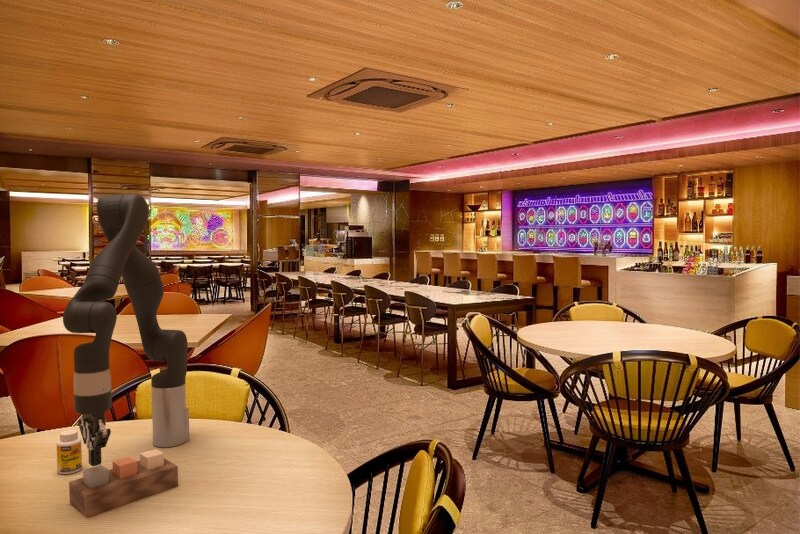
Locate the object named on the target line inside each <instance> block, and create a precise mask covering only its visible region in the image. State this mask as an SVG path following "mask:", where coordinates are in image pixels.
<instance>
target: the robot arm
mask: <svg viewBox="0 0 800 534" xmlns="http://www.w3.org/2000/svg"><path fill="white" fill-rule="evenodd" d="M96 214H97V219H98V221H99V224H100V227H101V230H102V232H103V233H104V235H105V238H106V240H107V244H106V245H105V246H104V247H103V248H102V249H101V250H100V251H99V252H98V253H97V254H96V256H95V257H93V259H92V261H91V263H90V265H89V267H88V271H87V273H86V276H85V279H84V282H83V284H82V285H81V286H80V287H79V288H78V290H77V292H76V293H75V294H74V295H73V297H72V298H71V299H70V301H69V302H68V303H67V305H66V307H65V309H64V311H63V315H62V323H63V326H64V328H65V329H66V330H67V331H68V332H69V333H72V334H95V336H94V338H93V341H89V342H84V343H81V344H78V345H77V346H76V347H75V348H74V349H73V371H74V372H73V383H72V384H73V385H72V386H73V408H74V412H75V414H77V415H81V417H82V419H78V420H77V424H78V427H79V430H80V431H79V432H80V434H81V437H82V441H83V444H84V445H85V446H86V448H87V451H88V464H89V465H90V466H91V467H95V466H99V465H102V449H104V448H106V446H107V444H108V441H109V439H110V437H111V434H112V433H111V432H112V430H111V428H106V426H107V418H106V417H105V415H106V414H105V413H106V412H107V411H109V410H110V409H111V408H112V406H113V399H112V398H113V397H112V376H111V371H110V348H111V342H112V339H113V338H112V337H113V334H114V330H115V327H116V324H117V321H118V320H117V319H118V318H117V317H118V313H117V310H116V308H115V307H114V306H115V305H113V304H112V303H110V302H108V300H111V299H113V297H115V295H116V293H117V291H118V288H119V284H120V281H121V278H122V281H123V284H124V286H125V287H124V288H125V290H126V293H127V296H128V298H129V301H130V304H131V306H132V309H133V313H134V316H135V320H136V323H137V326H138V331H139V336H140V340H141V341H140V342H141V344H142V345H141V346H142V348H143V351H144V352H143V353H144V354H145V356H146V357H147V358H148V359H149V361H153V362H163V363H164V362H166V363H167V367H166V369H165V370H163V371H160V372H157V373H155V374H154V375H152V376H151V382H150V383H151V413H152V415H151V417H152V422H151V423H152V445H154V446H155V447H158V448H170V447H176V446H179V445H182V444H184V443H185V442H187V441H189V440H190V439H191V438H190V409H189V408H188V407H187V396H186V395H187V393H186V376H187V372H188V371H187V370H188V345H189V344H188V338H187V335H186V333H185V332H184V331H183V330H180V329H164V328H162V327H160V325H159V322H158V317H157V313H158V310H159V308H160V306H161V302H162V300H163V297H164V292H165V288H164V284H163V281H162V277H161V274H160V271H159V269H158V267H157V265H156V264H155V263H154V262H153V261H152V260H151V259H150V258H149V257H148V256H147V255H146V254H144V253H143V252H142V251H141V250H140V249H139V248H138V247H137V246H136V245H137V243H138V241H139V240H140V237H141V235H142V233H143V232H144V230H145V227H146V225H147V224H148V220H149V206H148V202H147V200H146V199H145V197H143V196H142V195H141V194H139V193H124V194H109V195H103V196H100V197H99V198H98V200H97V202H96Z"/></svg>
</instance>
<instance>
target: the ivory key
mask: <svg viewBox="0 0 800 534" xmlns="http://www.w3.org/2000/svg"><path fill="white" fill-rule="evenodd" d="M164 455H165V454H164V452H163V451H160V450H159V449H157V448H155V449H151V450H148V451H145V452H141V453H139V461H140V467H142V468H143V469H145V470H146V471H148V470H152V469H155V468H158V467H161V466H164Z"/></svg>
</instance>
